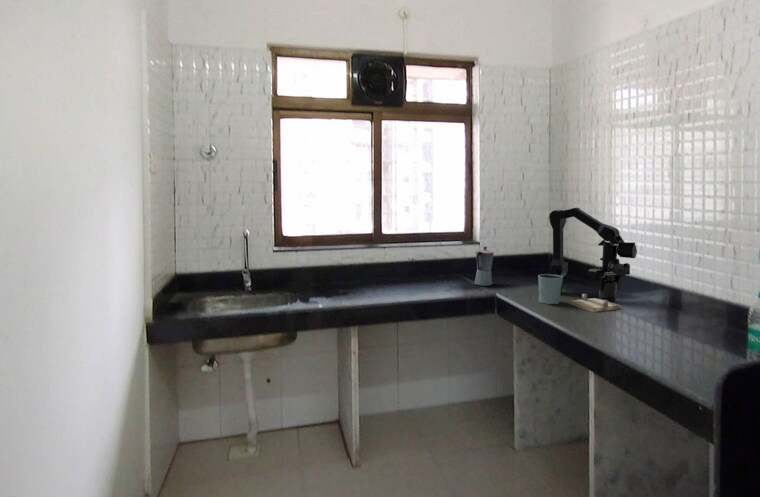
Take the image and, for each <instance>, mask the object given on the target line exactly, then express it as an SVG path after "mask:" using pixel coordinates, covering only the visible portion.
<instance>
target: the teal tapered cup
mask: <svg viewBox="0 0 760 497" xmlns="http://www.w3.org/2000/svg"><path fill="white" fill-rule="evenodd" d="M537 277H538V278H537V279H538V303H539V302H541V303H546V304H557V305H559V304H560V301H561V294H562V292H561V286H562V287H563V279H564V276H563V277H562V276H560V275H553V274H548V273H541V274H538V275H537ZM560 293H561V294H560ZM541 303H540V304H541ZM546 304H545V305H546Z"/></svg>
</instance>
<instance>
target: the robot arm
mask: <svg viewBox="0 0 760 497" xmlns="http://www.w3.org/2000/svg"><path fill="white" fill-rule="evenodd" d="M569 218H574V219H576V220H578V221H579V222H581V223H582V224H585V225H586V226H587V227H588V228H591V230H594V231H595V232H596V233H597V235H598V236H599V237H600V238H601V239H602V240H601V241H600V242H599V243H598V244H597V246H598V247H599V246H602V257H600V258H599V260H600V261H602V262H601V266H600V267H599V268H589V269H588V270H587V276H589V277H592V278H593V279H594V280H595V282H596V285H597V286H598V289H599V291H601V292H603V289H604V280H605V279H606V278H607V277H604V274H614V275H615V279H614V280H615V281H616V283H617V286H618V285H619V283H620V281H621V279H623V278H624V277H626V275H630V274H631V270H630V269H631V264H630V263H628V262H625V263H620V260H619V259H620V258H625V259H626V258H627V259H635V258H636V257H637V253H638V251H637V246H636V242H633V241H632V242H628V241H625V240H624V239H623V238H622V236H621V235H620V230H619V229H618V228H616V227H615V226H612V225H609V224H605V223H603V222H601V221H599V220H598V219H596V218H594V217H593V216H591V215H590V214H588V213H587V212H585V211H583V210H582V209H581V208H580V207H572V208H570V209H564V210H563V209H556V210H552V211H550V213H549V216H548V220H549V224H550V226H551V228H552V261H551V263H550V267H549V268H550V269H549V272H548V273H547V274H553V275H560V276H562V277H563V278H564V276H566V275H567V273H568V271H569V262H566V261H565V259H564V228H565V225H566V223H567V219H569ZM617 256H619V257H620V258H618V257H617ZM562 292H563V285H562V286H561V293H560V295H562Z"/></svg>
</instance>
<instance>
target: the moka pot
mask: <svg viewBox="0 0 760 497" xmlns="http://www.w3.org/2000/svg"><path fill="white" fill-rule="evenodd" d="M487 248H488V247H487V246H483V249H481V250H476V253H475V256H476V269H477V270H476V274H475V279H474V284H475V285H477V286H482V287H483V286H487V287H488V286H492V285H493V280H492V279H493V278H492V266H493V259H494V251H491V250H487Z"/></svg>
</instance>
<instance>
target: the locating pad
mask: <svg viewBox="0 0 760 497" xmlns="http://www.w3.org/2000/svg"><path fill="white" fill-rule="evenodd" d="M569 305H571V306H574V307H577V308H580V309H584V310H585V311H590V312H593V313H596V312H605V311H612V310H613V311H614V310H619V309H620V310H621V305H620V304H618V303H615V302H608V300H601V299H599V298H596V297H593V298H588V294H587V293H582V294H581V299H574V300H573V299H572V300H569Z"/></svg>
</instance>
